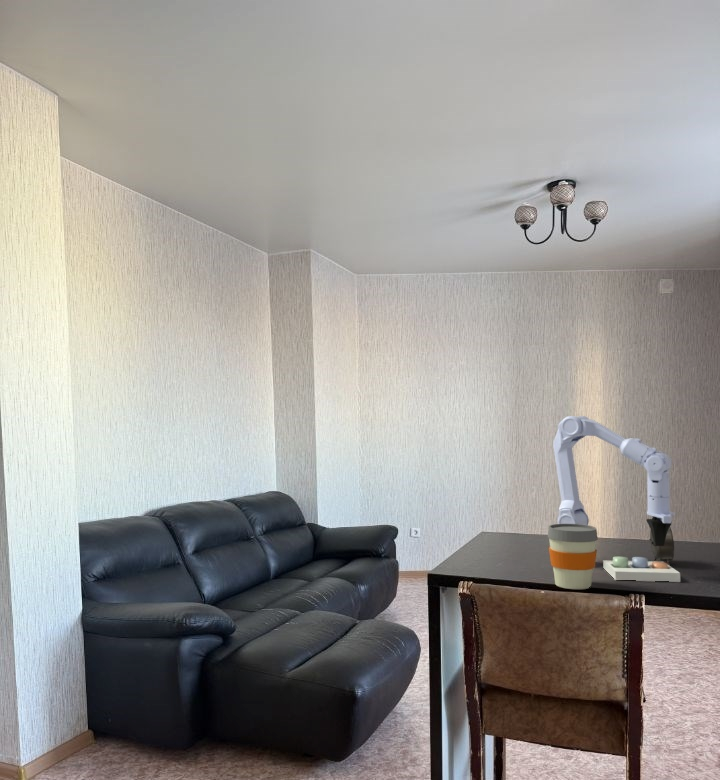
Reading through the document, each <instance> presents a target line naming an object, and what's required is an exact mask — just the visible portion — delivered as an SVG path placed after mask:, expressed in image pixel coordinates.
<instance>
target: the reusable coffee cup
mask: <svg viewBox="0 0 720 780" xmlns="http://www.w3.org/2000/svg"><path fill="white" fill-rule="evenodd" d="M547 538H548V540H549V546H548V553H549V559H550V565H551V566H552V569H553V574H554V576H553V577H554V584H555V585H556V587H559V588H563V589H569V590H586V589H590V588H591V587H590V586H592V581H593V572H594V569H595V568H596V562H597V553H598V552H597V551H598V550H597V549H596V546H597V541H598V531H597V528H596V527H595V526H592V525H589V524H588V525H582V524H557V523H555V524H554V523H553V524H549V525H548V529H547ZM589 587H590V588H589Z"/></svg>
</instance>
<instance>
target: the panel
mask: <svg viewBox="0 0 720 780" xmlns="http://www.w3.org/2000/svg"><path fill="white" fill-rule="evenodd" d="M602 561H603V562H602V564H603V565H602V567H603V568H604V569H605V570H606V571H607V572H608V573H609V574H610V575H611V576H612V577H613V578H614V579H613V578H612V577H611V576H610V575H609V574H608V573H607V574H608V575H609V576H610V577H611V578H612V579H613V580H614V581H616V580H636V581H635V582H655V581H669V582H668V583H681V572H679V571H678V570H676V569H675V568H673V567H672V566H669V565H670V564H669V565H668V569H653V568H652V562H658V560H656V561H654V560H653V561H652V560H651V561H648V568H633V567H632V560H628V568H614V567H613V559H612V560H606V559H605V560H602ZM663 562H664V561H663ZM664 563H666V562H664ZM604 569H603V570H604ZM605 570H604V571H605ZM606 571H605V572H606Z"/></svg>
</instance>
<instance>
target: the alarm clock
mask: <svg viewBox="0 0 720 780" xmlns="http://www.w3.org/2000/svg"><path fill="white" fill-rule="evenodd" d="M649 537H650V538H649V539H648V540H649V541H650V546H651V547H650V548H651V551H652V554H653V557H654V560H653V561H658V562H664V561H666V562H665V563H667V564H668V565H669V566H670V561H673V559H674V557H675V542H674V534H673V531H672V528H671V526H670V527H669V529H668V532H667V535H666V539H665V543H664V546H656V545H655V544H654V541H653V537H652V532H651V529H650V534H649ZM670 567H671V566H670Z"/></svg>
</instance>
